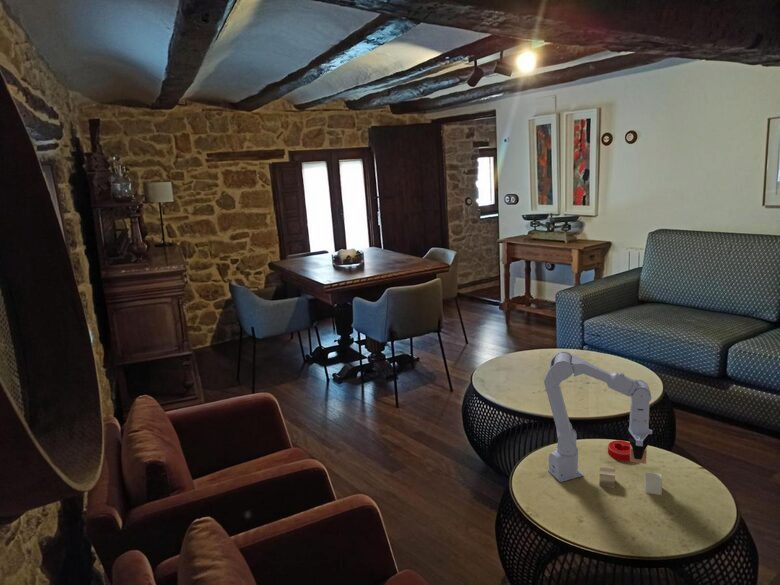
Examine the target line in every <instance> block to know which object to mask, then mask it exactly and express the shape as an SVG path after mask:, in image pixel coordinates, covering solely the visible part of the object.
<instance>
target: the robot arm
mask: <svg viewBox="0 0 780 585" xmlns="http://www.w3.org/2000/svg"><path fill="white" fill-rule="evenodd" d="M572 375H573V377H575V378H576V377H577V376H581V375H585V376H588V377H589V378H590V377H591V378H594V379H595V380H598V381H601V382H603V383H605V384H607V385H606V386H607V387H608V389H611V390H613V391H614V392H617V393H620V394H621V395H625V396H627V397H630V399H631V400H630V404H629V407H630V408H629V426H628V432H629V435H630V436H631V437H629V438H628V439H629V443H630V444H631V446H632V448H633V453H634V458H635V459H640V460H641V459H642V457H643V453H644V450H645V448H646V449H647V447H649V446H648V445H649V441H648V440H646V438H647V436H648V435H652V434H653V429H650V428H649V423H650V402H651V400H652V399H653V398H652V393H651V391H650V387H649V385H648V383H647V382H646V381H644V380H642V379H637V378H635V379H633V378H631V377H628V376H626V375H625V373H624V372H621V371H620V372H618V371H613V372H609V371H606V370H604V369H603V368H600V367H598V366H597V365H594V364H592V363H590V362H588V361H586V360H584V359H583V358H581V357H579V356H578V355H576V354H571V353H570V352H568V351H563V350H562V351H559V352H557V353H556V354H555V355H554V356H553V357H552V358H551V360H550V363H549V365H548V368H547V371H546V372H545V375H544V379H543V384H544V387H545V391H546V395H547V398H548V402H549V406H550V409H551V413H552V417H553V421H554V424H555V429H556V434H557V435H556V436H557V445H556V449H554V451H552V452H550V453H549V454H548V469H547V471H548V472H549V473H550V475H552V476H553V477H554V478H555V479H556V480H558V482H560V483H562V482H565V481H569V480H573V479H576V478H580V477H583V476H584V473H583V472H581V471H580V469H579V449H578V447H577V438H578V435H577V431H576V430H575V429H574V428H573V425H572V423H571V422H570V418H569V415H568V410H567V407H566V404H565V399H564V396H563V392H562V389H561V384H562V382H563V381H565V380H567V379H568V378H570V377H571V376H572Z"/></svg>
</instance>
